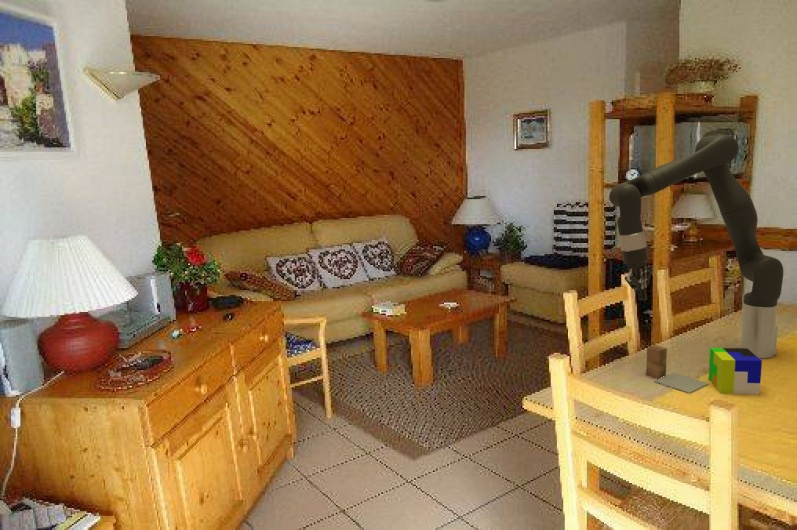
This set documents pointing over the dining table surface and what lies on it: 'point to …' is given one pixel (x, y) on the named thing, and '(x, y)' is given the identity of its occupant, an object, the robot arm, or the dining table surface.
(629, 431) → the dining table surface
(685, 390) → the felt mat
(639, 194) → the robot arm
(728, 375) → the puzzle toy
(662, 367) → the walnut block
